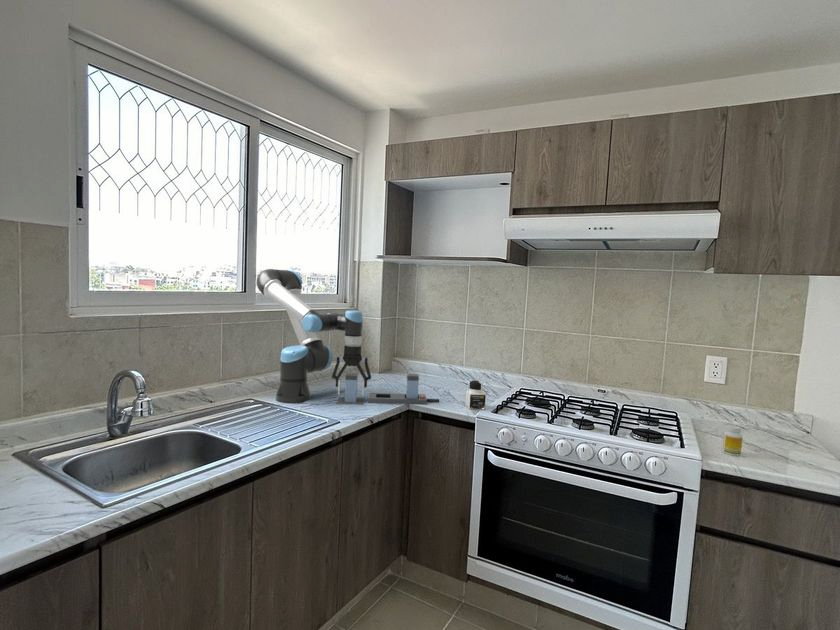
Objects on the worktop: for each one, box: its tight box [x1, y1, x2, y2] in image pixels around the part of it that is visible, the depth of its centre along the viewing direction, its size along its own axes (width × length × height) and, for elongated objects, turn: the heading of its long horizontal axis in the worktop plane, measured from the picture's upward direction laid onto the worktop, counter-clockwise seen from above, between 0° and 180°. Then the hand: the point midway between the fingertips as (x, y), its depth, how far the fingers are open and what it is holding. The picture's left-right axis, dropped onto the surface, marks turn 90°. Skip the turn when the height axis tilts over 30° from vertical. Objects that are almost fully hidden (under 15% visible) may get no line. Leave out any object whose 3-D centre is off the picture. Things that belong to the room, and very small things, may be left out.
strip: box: [367, 392, 440, 406], centre depth 203 cm, size 32×10×4 cm, turn 94°
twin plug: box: [405, 373, 420, 399], centre depth 203 cm, size 5×5×12 cm
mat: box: [335, 396, 366, 406], centre depth 202 cm, size 12×12×1 cm
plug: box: [344, 372, 359, 402], centre depth 201 cm, size 5×5×12 cm
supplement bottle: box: [722, 424, 744, 457], centre depth 158 cm, size 5×5×10 cm
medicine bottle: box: [465, 380, 487, 410], centre depth 201 cm, size 7×7×12 cm
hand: (351, 394), depth 201 cm, fingers open, 10 cm apart
